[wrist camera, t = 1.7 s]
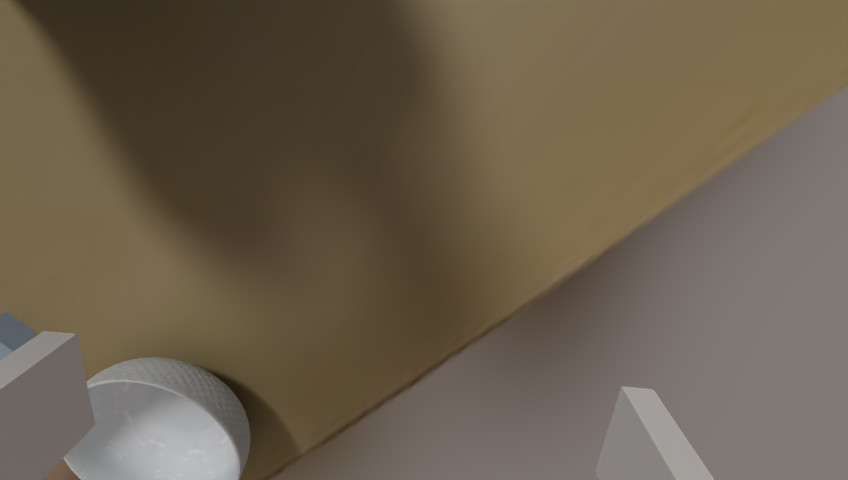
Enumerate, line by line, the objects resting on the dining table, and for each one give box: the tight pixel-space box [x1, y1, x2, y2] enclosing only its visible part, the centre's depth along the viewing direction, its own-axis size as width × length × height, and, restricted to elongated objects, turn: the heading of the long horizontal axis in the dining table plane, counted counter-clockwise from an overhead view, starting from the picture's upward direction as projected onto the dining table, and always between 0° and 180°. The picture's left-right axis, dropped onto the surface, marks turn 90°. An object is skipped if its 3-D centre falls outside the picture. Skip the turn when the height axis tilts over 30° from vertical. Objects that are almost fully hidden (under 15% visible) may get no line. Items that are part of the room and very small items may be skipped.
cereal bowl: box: [64, 357, 251, 480], centre depth 44 cm, size 17×17×7 cm
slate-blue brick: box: [0, 312, 38, 360], centre depth 44 cm, size 6×3×3 cm, turn 41°
